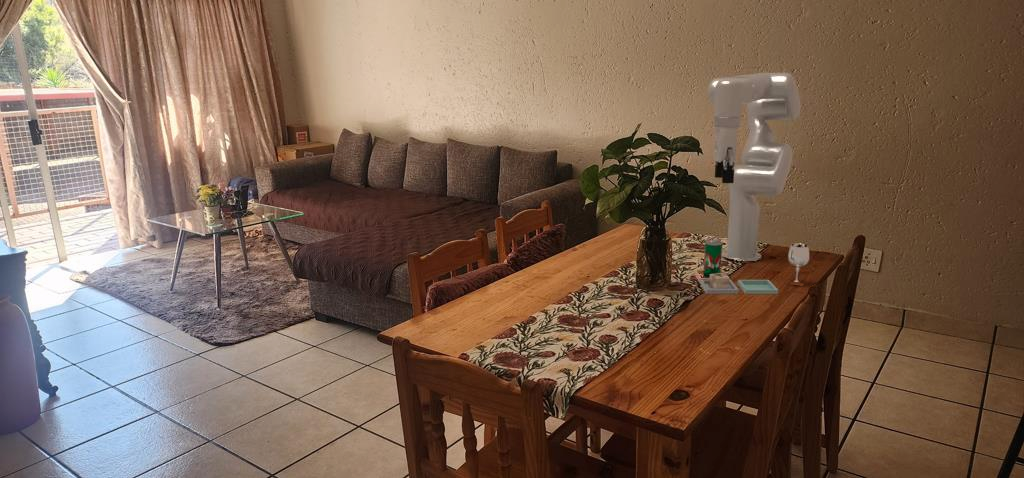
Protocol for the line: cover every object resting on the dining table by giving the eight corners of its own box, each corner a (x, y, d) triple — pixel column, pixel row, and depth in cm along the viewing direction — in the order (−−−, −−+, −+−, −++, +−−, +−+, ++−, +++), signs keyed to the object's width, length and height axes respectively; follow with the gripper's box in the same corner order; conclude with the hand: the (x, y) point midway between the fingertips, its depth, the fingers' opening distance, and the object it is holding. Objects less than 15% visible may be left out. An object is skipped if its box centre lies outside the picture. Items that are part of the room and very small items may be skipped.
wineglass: (803, 288, 193) (807, 249, 190) (783, 285, 197) (786, 246, 194) (808, 283, 198) (812, 244, 195) (788, 279, 201) (792, 241, 198)
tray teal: (737, 285, 197) (737, 279, 197) (768, 285, 197) (768, 279, 196) (745, 295, 189) (745, 289, 188) (777, 295, 188) (778, 289, 188)
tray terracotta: (693, 275, 208) (694, 269, 207) (722, 275, 207) (723, 269, 207) (699, 284, 199) (699, 278, 199) (729, 284, 199) (730, 278, 198)
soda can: (718, 275, 205) (720, 237, 202) (721, 280, 201) (724, 242, 197) (701, 275, 206) (703, 237, 203) (704, 280, 201) (706, 242, 198)
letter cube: (709, 287, 195) (709, 273, 194) (721, 285, 196) (722, 272, 195) (715, 291, 191) (716, 277, 190) (728, 290, 192) (729, 276, 191)
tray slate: (699, 285, 198) (700, 279, 198) (730, 285, 198) (730, 279, 197) (706, 295, 190) (706, 289, 189) (738, 295, 189) (738, 289, 188)
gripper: (708, 120, 203) (705, 175, 208) (720, 125, 187) (717, 185, 191) (732, 120, 203) (729, 175, 207) (747, 125, 186) (744, 185, 190)
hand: (723, 180), depth 199 cm, fingers open, 9 cm apart
